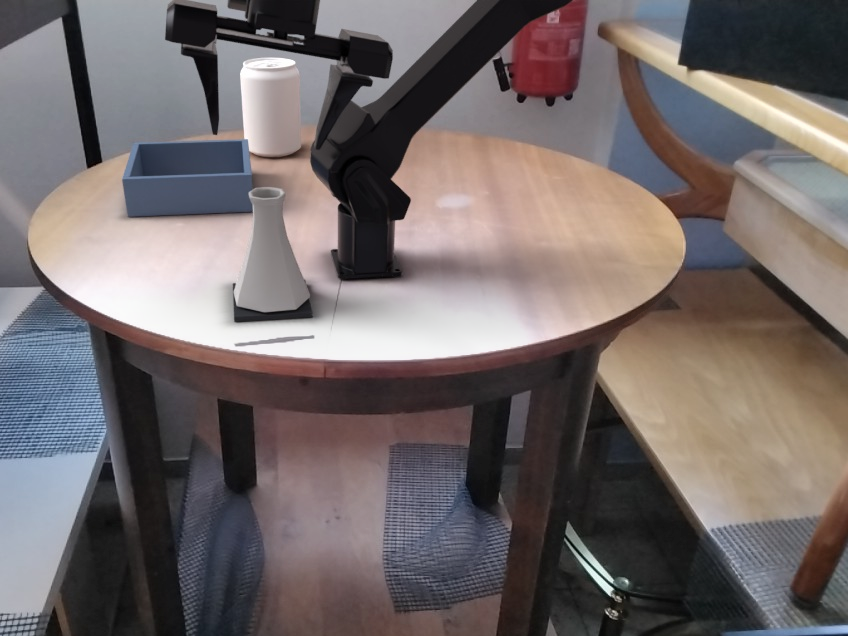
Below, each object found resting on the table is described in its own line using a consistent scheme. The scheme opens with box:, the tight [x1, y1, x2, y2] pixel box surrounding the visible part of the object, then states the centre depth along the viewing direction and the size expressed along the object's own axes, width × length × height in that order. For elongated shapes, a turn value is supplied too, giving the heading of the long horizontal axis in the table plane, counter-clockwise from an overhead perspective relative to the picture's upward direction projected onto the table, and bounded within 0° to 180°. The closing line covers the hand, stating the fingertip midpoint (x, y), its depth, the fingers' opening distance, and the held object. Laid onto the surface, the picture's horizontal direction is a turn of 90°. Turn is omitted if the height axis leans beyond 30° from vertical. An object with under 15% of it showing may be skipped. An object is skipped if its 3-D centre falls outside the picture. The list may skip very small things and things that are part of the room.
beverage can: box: [239, 57, 302, 158], centre depth 111 cm, size 8×8×12 cm
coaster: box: [232, 279, 313, 323], centre depth 74 cm, size 7×7×1 cm
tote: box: [121, 138, 254, 218], centre depth 97 cm, size 15×15×4 cm
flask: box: [234, 186, 311, 312], centre depth 71 cm, size 7×7×10 cm
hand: (266, 141), depth 71 cm, fingers open, 9 cm apart
